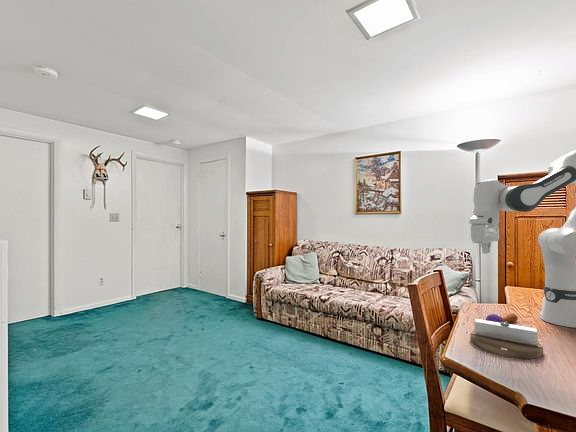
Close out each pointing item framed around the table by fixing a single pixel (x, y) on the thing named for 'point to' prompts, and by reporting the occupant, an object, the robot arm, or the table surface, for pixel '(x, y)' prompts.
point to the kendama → (499, 319)
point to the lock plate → (507, 347)
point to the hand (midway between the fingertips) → (486, 253)
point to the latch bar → (506, 331)
